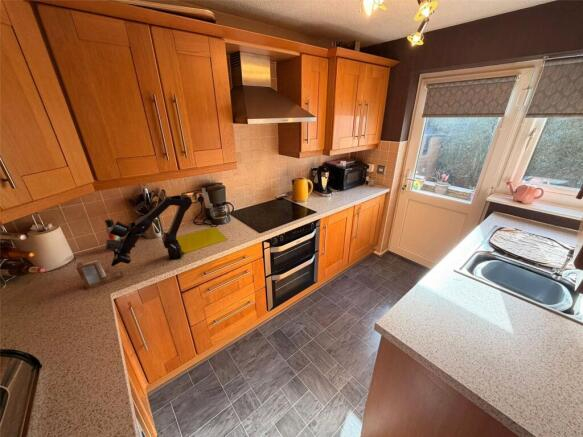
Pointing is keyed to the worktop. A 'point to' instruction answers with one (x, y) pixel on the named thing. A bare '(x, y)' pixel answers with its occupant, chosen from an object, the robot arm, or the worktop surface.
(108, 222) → the lotion bottle
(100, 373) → the worktop surface
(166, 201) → the robot arm
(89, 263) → the frame
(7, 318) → the worktop surface
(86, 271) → the window frame
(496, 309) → the worktop surface
